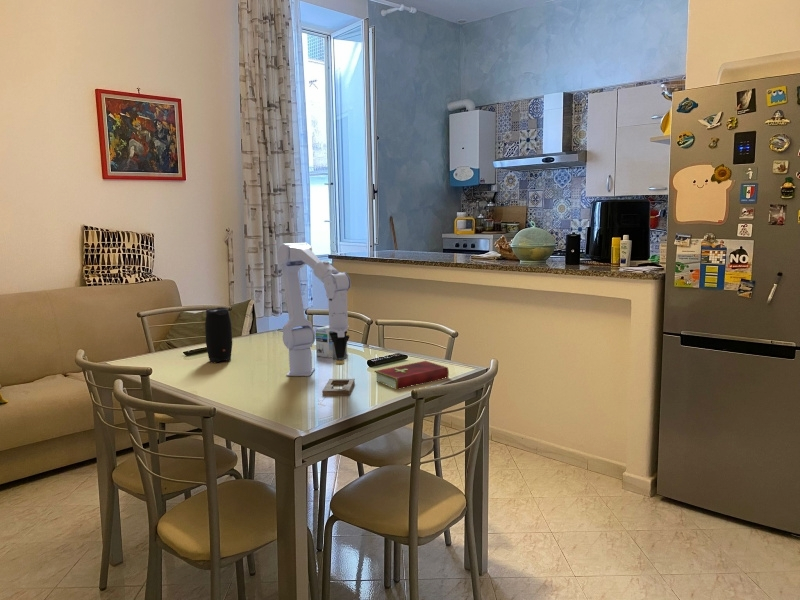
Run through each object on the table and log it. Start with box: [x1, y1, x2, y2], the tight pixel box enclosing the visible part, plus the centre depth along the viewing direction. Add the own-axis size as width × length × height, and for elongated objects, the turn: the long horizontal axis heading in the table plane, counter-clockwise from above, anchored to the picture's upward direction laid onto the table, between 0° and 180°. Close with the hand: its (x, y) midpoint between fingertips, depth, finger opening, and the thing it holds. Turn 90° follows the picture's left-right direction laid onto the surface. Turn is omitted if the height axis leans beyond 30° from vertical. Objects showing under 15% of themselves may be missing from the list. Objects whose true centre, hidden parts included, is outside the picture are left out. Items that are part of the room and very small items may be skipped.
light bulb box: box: [315, 324, 333, 359], centre depth 232 cm, size 11×7×11 cm, turn 148°
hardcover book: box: [374, 360, 450, 390], centre depth 196 cm, size 12×21×4 cm, turn 126°
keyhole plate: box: [321, 378, 356, 397], centre depth 186 cm, size 13×8×2 cm, turn 177°
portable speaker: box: [204, 306, 233, 363], centre depth 224 cm, size 9×9×20 cm
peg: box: [332, 343, 348, 366], centre depth 187 cm, size 4×4×7 cm
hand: (339, 355), depth 187 cm, fingers closed on peg, 4 cm apart
